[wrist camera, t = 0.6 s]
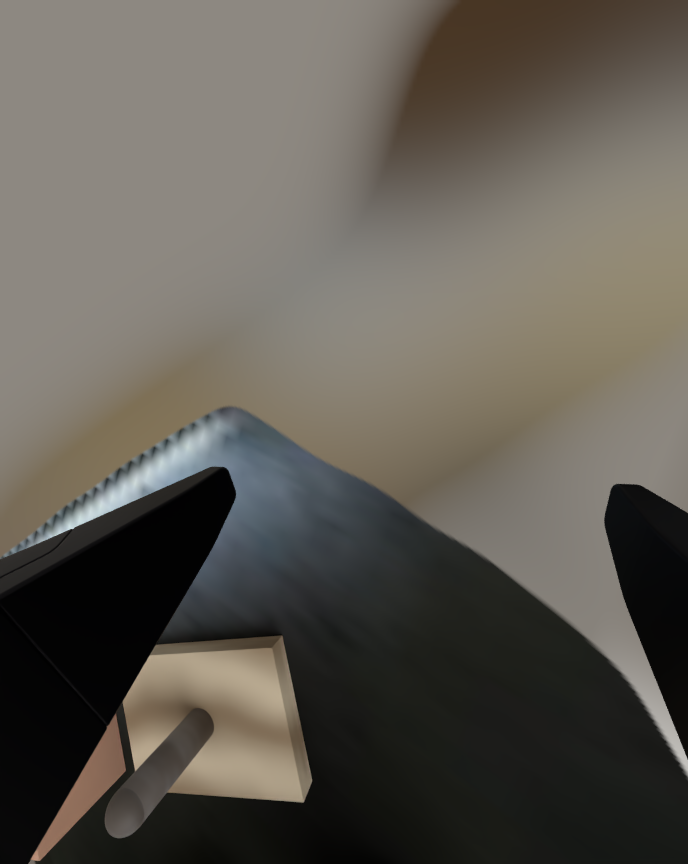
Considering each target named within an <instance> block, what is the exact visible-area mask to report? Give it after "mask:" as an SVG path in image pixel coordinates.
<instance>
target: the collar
mask: <svg viewBox="0 0 688 864" xmlns="http://www.w3.org/2000/svg"><path fill="white" fill-rule="evenodd" d="M125 771H126V768H125V762H124V757H123V751H122V745H121V740H120V734H119V728H118V723H117V717H116V714H115V716H114V717H113V719H112V721H111V722H110V724H109V725H108V726H107V730H106V732H105V733H104V735H103V737H102V738H101V740H100V742H99V744H98V745H97V747H96V749H95V750H94V752H93V754H92V756H91V757H90V759H89V761H88V762H87V764H86V766H85V768H84V769H83V771H82V773H81V774H80V776H79V778H78V780H77V781H76V783H75V785H74V786H73V788H72V790H71V792H70V793H69V795H68V797H67V798H66V800H65V802H64V804H63V805H62V807H61V809H60V810H59V812H58V814H57V816H56V817H55V819H54V821H53V822H52V824H51V826H50V828H49V829H48V831H47V833H46V834H45V836H44V838H43V839H42V841H41V843H40V845H39V846H38V848H37V850H36V851H35V853H34V855H33V857H32V858H31V860H36V861H40V860H41V859H42V858H43V857H44V856H45V855H46V854H47V853H48V852H49V851H50V849H51V848H52V847H53V846H54V845H55V844H56V843H57V842H58V841H59V840H60V839H61V838H62V837H63V836H64V835H65V834H66V833H67V832H68V831H69V830H70V829H71V828H72V827H73V825H74V824H75V823H76V822H77V821H78V820H79V819H80V818H81V817H82V816H83V815H84V814H85V813H86V812H87V811H88V810H89V809H90V808H91V807H92V806H93V805H94V804H95V802H96V801H97V800H98V799H99V798H100V797H101V796H102V795H103V794H104V793H105V792H106V791H107V790H108V789H109V788H110V787H111V786H112V785H113V784H114V783H115V782H116V781H117V779H118V778H119V777H120V776H121V775H122V774H123V773H124V772H125Z"/></svg>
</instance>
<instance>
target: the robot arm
mask: <svg viewBox="0 0 688 864" xmlns="http://www.w3.org/2000/svg"><path fill="white" fill-rule="evenodd" d="M235 498H236V490H235V487H234V485H233V482H232V479H231V476H230V474H229V471H228V470H227V469H226V468H225V467H210V468H207V469H205V470H203V471H201V472H198V473H196V474H194V475H192V476H189V477H187V478H185V479H183V480H180V481H178V482H176V483H174V484H171V485H169V486H167V487H165V488H162V489H160V490H158V491H156V492H153V493H151V494H149V495H147V496H145V497H142V498H140V499H138V500H136V501H133V502H131V503H129V504H127V505H124V506H122V507H120V508H118V509H115V510H113V511H111V512H109V513H106V514H104V515H102V516H100V517H97V518H95V519H93V520H91V521H88V522H86V523H84V524H82V525H79V526H77V527H75V528H74V529H70V530H68V531H66V532H63V533H61V534H59V535H57V536H54V537H52V538H50V539H48V540H45V541H43V542H41V543H38V544H36V545H34V546H31V547H29V548H27V549H24V550H22V551H19V552H17V553H15V554H12V555H10V556H7V557H5V558H2V559H0V864H28V863H29V862H30V860H31V858H32V857H33V855H34V853H35V851H36V850H37V848H38V846H39V845H40V843H41V841H42V839H43V838H44V836H45V834H46V833H47V831H48V829H49V828H50V826H51V824H52V822H53V821H54V819H55V817H56V816H57V814H58V812H59V810H60V809H61V807H62V805H63V804H64V802H65V800H66V798H67V797H68V795H69V793H70V792H71V790H72V788H73V786H74V785H75V783H76V781H77V780H78V778H79V776H80V774H81V773H82V771H83V769H84V768H85V766H86V764H87V762H88V761H89V759H90V757H91V756H92V754H93V752H94V750H95V749H96V747H97V745H98V744H99V742H100V740H101V738H102V737H103V735H104V733H105V732H106V730H107V726H108V725H109V724H110V722H111V721H112V719H113V717H114V716H115V714H116V712H117V711H118V709H119V707H120V705H121V704H122V702H123V700H124V699H125V697H126V695H127V693H128V692H129V690H130V688H131V687H132V685H133V683H134V681H135V680H136V678H137V676H138V675H139V673H140V671H141V669H142V668H143V666H144V664H145V663H146V661H147V659H148V658H149V656H150V654H151V652H152V651H153V649H154V647H155V646H156V644H157V642H158V640H159V639H160V637H161V635H162V634H163V632H164V630H165V628H166V627H167V625H168V623H169V622H170V620H171V618H172V616H173V615H174V613H175V611H176V610H177V608H178V606H179V605H180V603H181V601H182V599H183V598H184V596H185V594H186V593H187V591H188V589H189V587H190V586H191V584H192V582H193V581H194V579H195V577H196V575H197V574H198V572H199V570H200V569H201V567H202V565H203V563H204V562H205V560H206V558H207V557H208V555H209V553H210V551H211V550H212V548H213V546H214V544H215V542H216V540H217V538H218V535H219V533H220V531H221V529H222V527H223V525H224V523H225V520H226V518H227V516H228V514H229V512H230V510H231V507H232V505H233V503H234V501H235ZM604 521H605V522H604V523H605V529H606V533H607V537H608V541H609V545H610V548H611V552H612V556H613V560H614V564H615V568H616V571H617V575H618V579H619V583H620V587H621V590H622V593H623V597H624V600H625V603H626V606H627V608H628V611H629V613H630V616H631V619H632V621H633V624H634V626H635V629H636V631H637V634H638V636H639V638H640V641H641V644H642V646H643V649H644V651H645V654H646V656H647V659H648V661H649V664H650V666H651V668H652V671H653V674H654V676H655V679H656V681H657V683H658V686H659V689H660V691H661V693H662V696H663V699H664V701H665V704H666V706H667V709H668V711H669V714H670V716H671V719H672V721H673V724H674V726H675V729H676V731H677V733H678V736H679V739H680V741H681V744H682V746H683V749H684V751H685V754H686V756H687V759H688V513H687V512H685V511H683V510H682V509H680V508H678V507H677V506H675V505H673V504H672V503H670V502H668V501H666V500H665V499H663V498H661V497H660V496H658V495H656V494H655V493H653V492H651V491H649V490H648V489H646V488H644V487H642V486H640V485H634V484H633V485H632V484H616V485H614V486H613V487H612V489H611V491H610V496H609V500H608V504H607V508H606V512H605V518H604Z"/></svg>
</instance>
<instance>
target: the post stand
mask: <svg viewBox="0 0 688 864" xmlns="http://www.w3.org/2000/svg"><path fill="white" fill-rule="evenodd" d="M123 706H124V711H125V717H126V722H127V728H128V734H129V739H130V745H131V750H132V756H133V761H134V767H135V772H134V773H133V774H132V775H131V776H130V778H129V779H128V780H127V781H126V782H125V783H124V784H123V785H122V786H121V787H120V788H119V789H118V790H117V792H116V793H115V794H114V795H113V797H112V798H111V800H110V802H109V804H108V806H107V810H106V814H105V826H106V829H107V831H108V833H109V834H110V835H111V836H113V837H115V838H124V837H127V836H129V835H131V834H132V833H134V832H135V831H136V830H137V829H138V828H139V827H140V826H141V825H142V823H143V822H144V821H145V820H146V818H147V817H148V816H149V814H150V813H151V812H152V811H153V809H154V808H155V807H156V806H157V804H158V803H159V802H160V801H161V799H162V798H163V797H164V795H165V794H166V793H167V792H170V793H183V794H197V795H210V796H224V797H238V798H251V799H265V800H278V801H292V802H304V800H305V798H306V795H307V793H308V790H309V788H310V785H311V783H312V777H311V772H310V767H309V762H308V758H307V753H306V748H305V743H304V738H303V733H302V729H301V724H300V719H299V714H298V709H297V704H296V700H295V695H294V690H293V685H292V680H291V675H290V671H289V666H288V661H287V656H286V651H285V646H284V642H283V637H282V635H281V636H268V637H254V638H241V639H227V640H214V641H200V642H187V643H173V644H160V645H156V646H155V647H154V649H153V651H152V652H151V654H150V656H149V658H148V659H147V661H146V663H145V664H144V666H143V668H142V669H141V671H140V673H139V675H138V676H137V678H136V680H135V681H134V683H133V685H132V687H131V688H130V690H129V692H128V693H127V695H126V697H125V699H124V700H123Z"/></svg>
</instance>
